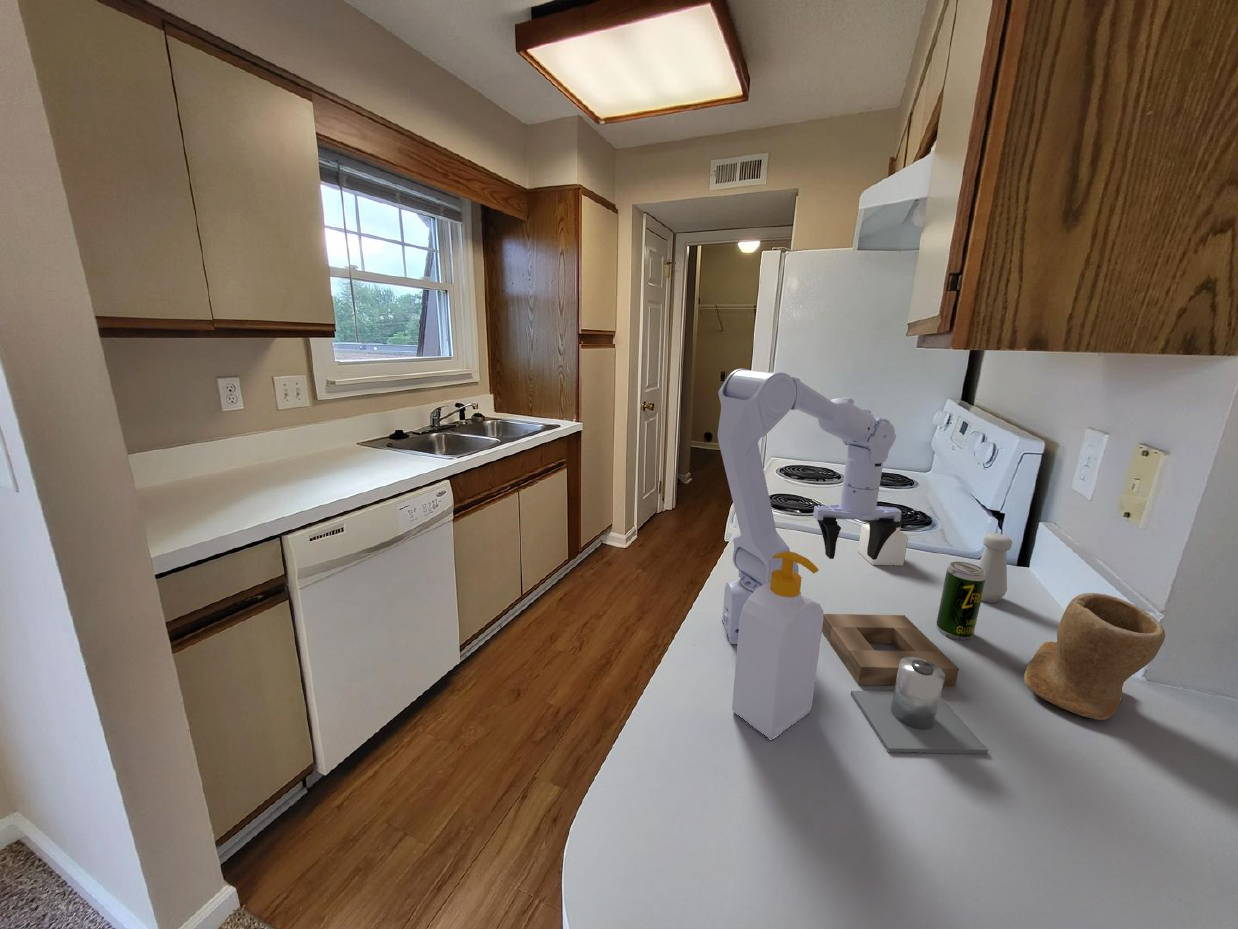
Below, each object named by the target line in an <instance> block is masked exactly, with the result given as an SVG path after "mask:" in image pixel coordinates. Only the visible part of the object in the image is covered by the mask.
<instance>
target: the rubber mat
mask: <svg viewBox="0 0 1238 929" xmlns="http://www.w3.org/2000/svg"><path fill="white" fill-rule="evenodd" d="M893 693H894V690H892V691H891V690H890V691H889V690H887V691H885V690H882V691H881V690H880V691H879V690H850V696H851V697H852V699H853V701H854V702H855V704H856V705H857V707H858V708H859V709H860V711H861V713H862V715H863V716H864V718H865V719H866V721H867V722H868V724H869V725H870V727H871V728H872V730H873V732H874V731H875V732H874V733H875V735H876V736H877V738H878V737H879V738H878V739H879V740H881V741H880V742H881V744H882V743H883V744H884V745H883V744H882V745H883V747H884V749H885V748H886V749H887V750H886V749H885V750H886V752H887V751H889V752H888V753H900V752H908V753H909V752H910V753H911V752H918V753H917V754H963V755H966V754H967V755H970V754H971V755H973V754H974V755H987V754H988V752H989V749H988V748H987V747H986V746H985V745H984V743H983V742H982V741H981V740H980V739H979V738H978V737H977V735H975V733H974V732H973V731H972V730H971V729H970V728H969V726H967V724H966V723H965V722H964V721H963V720H962V718H960V716H959V715H958V714H957V713H956V712H955V711H954V710H953V709H952V708H951V706H950V705H949V704H948V703H947V702H946V701H945V700H944V698H943V697H942V696H941V697H940V701H939V706H938V710H937V714H936V718H935V722H934V726H933V727H932V728H930V729H927V730H921V729H916V728H912V727H910V726H907V725H905V724H904V723H902V722H901V721H899V720H898V719H897V718H896V717H895V716H894V715H893V714H892V712H891V702H892V697H893ZM923 752H924V753H923ZM925 752H926V753H925ZM930 752H931V753H930ZM911 754H912V753H911Z"/></svg>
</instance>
